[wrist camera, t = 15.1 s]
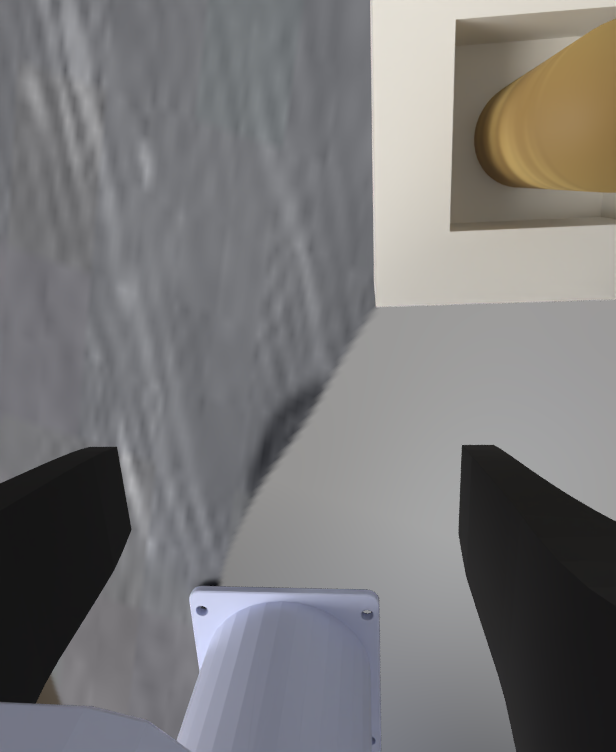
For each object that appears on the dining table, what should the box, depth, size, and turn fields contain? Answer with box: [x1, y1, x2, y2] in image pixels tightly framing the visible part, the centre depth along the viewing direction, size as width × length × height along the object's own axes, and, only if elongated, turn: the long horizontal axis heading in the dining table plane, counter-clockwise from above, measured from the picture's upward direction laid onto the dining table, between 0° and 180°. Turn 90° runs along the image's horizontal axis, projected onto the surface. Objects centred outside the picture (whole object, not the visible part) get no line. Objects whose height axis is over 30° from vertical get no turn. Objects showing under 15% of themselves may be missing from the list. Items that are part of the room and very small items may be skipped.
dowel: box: [474, 19, 616, 193], centre depth 14 cm, size 3×3×7 cm
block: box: [370, 0, 616, 307], centre depth 16 cm, size 9×9×4 cm
